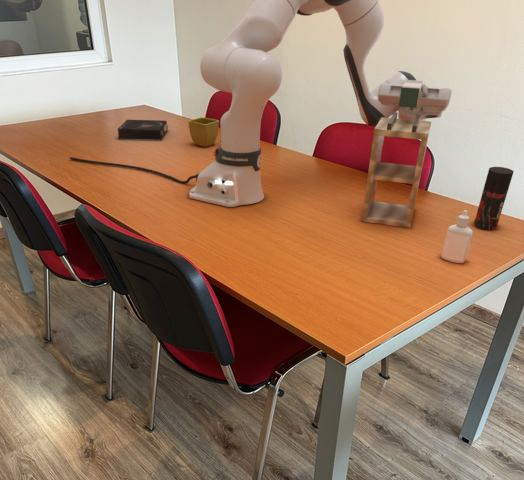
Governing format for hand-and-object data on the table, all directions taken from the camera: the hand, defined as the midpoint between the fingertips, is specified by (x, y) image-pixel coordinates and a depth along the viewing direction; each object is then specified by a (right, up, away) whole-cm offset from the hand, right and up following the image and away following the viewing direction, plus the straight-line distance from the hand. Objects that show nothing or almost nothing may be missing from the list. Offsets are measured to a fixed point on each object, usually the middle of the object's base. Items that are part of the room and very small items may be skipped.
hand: (414, 84), depth 140 cm
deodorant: (+19, -39, 0) cm, 43 cm away
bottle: (-2, -6, -3) cm, 7 cm away
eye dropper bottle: (+4, -51, -17) cm, 54 cm away
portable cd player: (-90, +16, +72) cm, 116 cm away
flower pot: (-64, +8, +61) cm, 89 cm away
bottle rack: (-6, -35, +5) cm, 35 cm away
